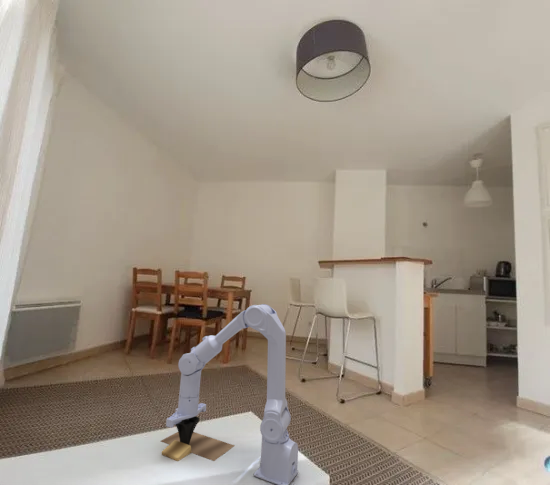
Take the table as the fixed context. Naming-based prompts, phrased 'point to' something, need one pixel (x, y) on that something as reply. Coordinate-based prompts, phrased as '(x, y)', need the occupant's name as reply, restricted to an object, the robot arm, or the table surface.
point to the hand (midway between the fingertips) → (184, 445)
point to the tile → (177, 450)
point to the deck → (203, 445)
